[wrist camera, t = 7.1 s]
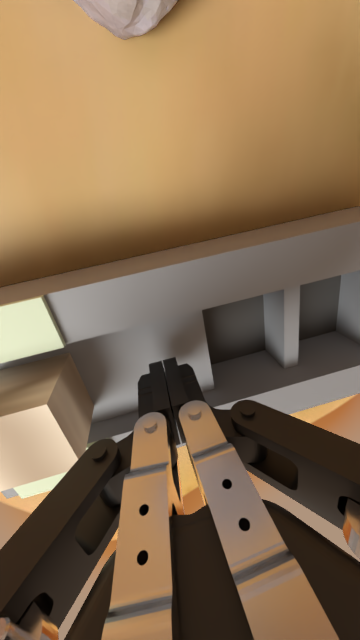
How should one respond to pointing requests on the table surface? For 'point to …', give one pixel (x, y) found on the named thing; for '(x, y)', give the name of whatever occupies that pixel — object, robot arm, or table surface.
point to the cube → (42, 420)
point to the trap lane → (202, 322)
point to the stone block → (127, 14)
